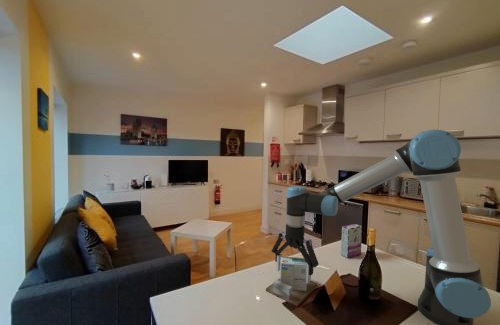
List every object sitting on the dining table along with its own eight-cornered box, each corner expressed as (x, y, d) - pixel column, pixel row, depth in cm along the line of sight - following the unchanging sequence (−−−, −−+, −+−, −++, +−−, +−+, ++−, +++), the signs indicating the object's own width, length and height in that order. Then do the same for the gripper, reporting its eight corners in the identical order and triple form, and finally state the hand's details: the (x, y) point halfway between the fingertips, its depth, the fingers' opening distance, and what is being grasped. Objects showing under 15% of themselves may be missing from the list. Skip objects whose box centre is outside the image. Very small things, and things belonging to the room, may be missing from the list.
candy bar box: (353, 251, 136) (354, 223, 135) (361, 255, 131) (362, 226, 131) (339, 255, 130) (341, 225, 130) (347, 258, 126) (349, 228, 125)
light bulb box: (304, 282, 99) (305, 257, 99) (306, 291, 93) (308, 265, 92) (279, 280, 101) (280, 255, 100) (279, 289, 94) (280, 262, 93)
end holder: (317, 285, 99) (318, 274, 99) (297, 306, 85) (297, 292, 85) (288, 273, 108) (289, 263, 108) (265, 290, 94) (266, 278, 94)
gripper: (328, 229, 90) (326, 283, 91) (274, 216, 106) (272, 262, 107) (321, 234, 85) (318, 292, 86) (264, 220, 100) (263, 268, 101)
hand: (292, 275), depth 96 cm, fingers open, 13 cm apart
